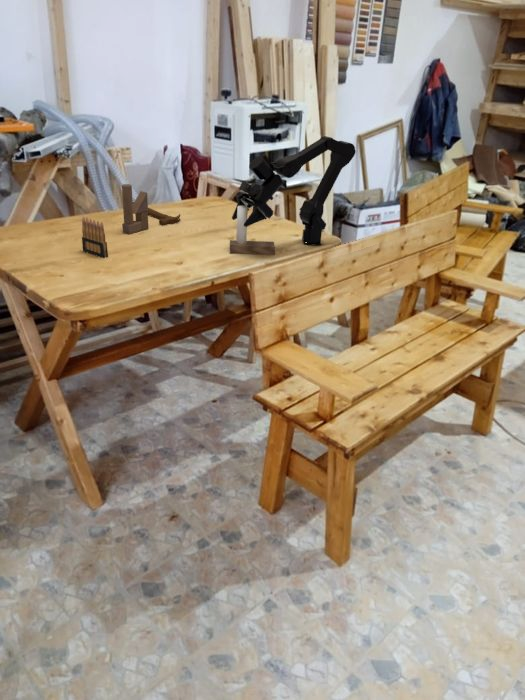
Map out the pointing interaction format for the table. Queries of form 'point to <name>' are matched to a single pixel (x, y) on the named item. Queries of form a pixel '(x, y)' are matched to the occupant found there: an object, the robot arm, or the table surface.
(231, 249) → the beam
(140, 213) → the brown wooden bracket
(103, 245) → the ammunition clip
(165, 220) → the hammer
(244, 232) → the dowel
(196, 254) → the table surface
